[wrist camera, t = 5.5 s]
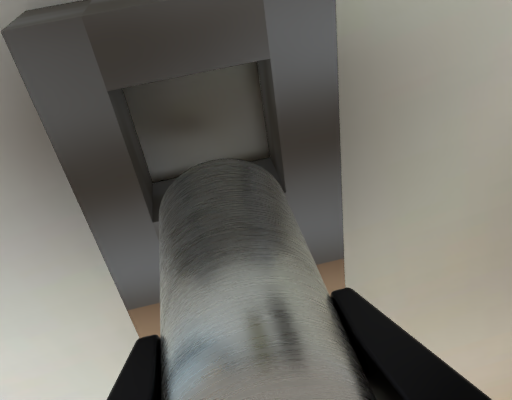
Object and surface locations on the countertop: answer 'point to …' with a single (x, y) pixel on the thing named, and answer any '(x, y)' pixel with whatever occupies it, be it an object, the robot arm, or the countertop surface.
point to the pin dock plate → (171, 66)
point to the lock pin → (245, 296)
